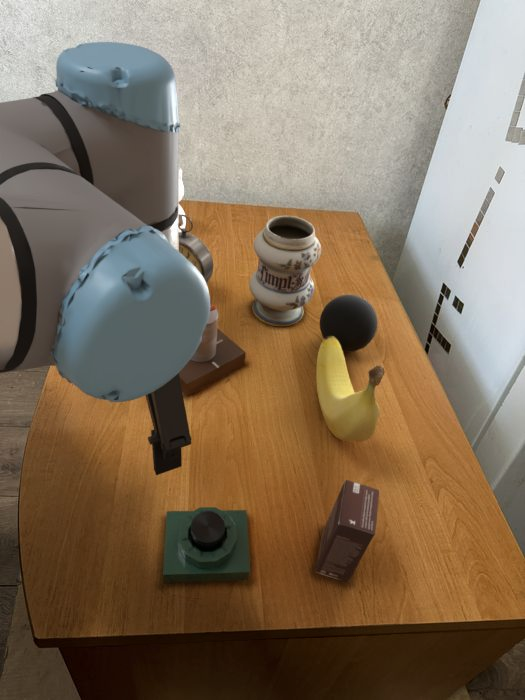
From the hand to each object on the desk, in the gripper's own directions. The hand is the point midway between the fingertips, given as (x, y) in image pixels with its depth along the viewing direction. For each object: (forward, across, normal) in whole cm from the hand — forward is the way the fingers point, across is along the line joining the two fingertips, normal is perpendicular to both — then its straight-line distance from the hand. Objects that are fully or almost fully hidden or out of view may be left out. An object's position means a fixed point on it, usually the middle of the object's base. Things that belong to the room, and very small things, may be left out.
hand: (146, 419), depth 58 cm
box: (+17, -17, -18) cm, 30 cm away
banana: (+17, +3, -31) cm, 35 cm away
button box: (+16, -9, -4) cm, 19 cm away
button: (+13, -9, -4) cm, 16 cm away
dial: (+14, +21, -15) cm, 29 cm away
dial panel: (+17, +21, -15) cm, 31 cm away
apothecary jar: (+17, +29, -34) cm, 48 cm away
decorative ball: (+17, +17, -41) cm, 48 cm away
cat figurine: (+17, +60, -23) cm, 67 cm away
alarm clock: (+17, +41, -20) cm, 48 cm away
